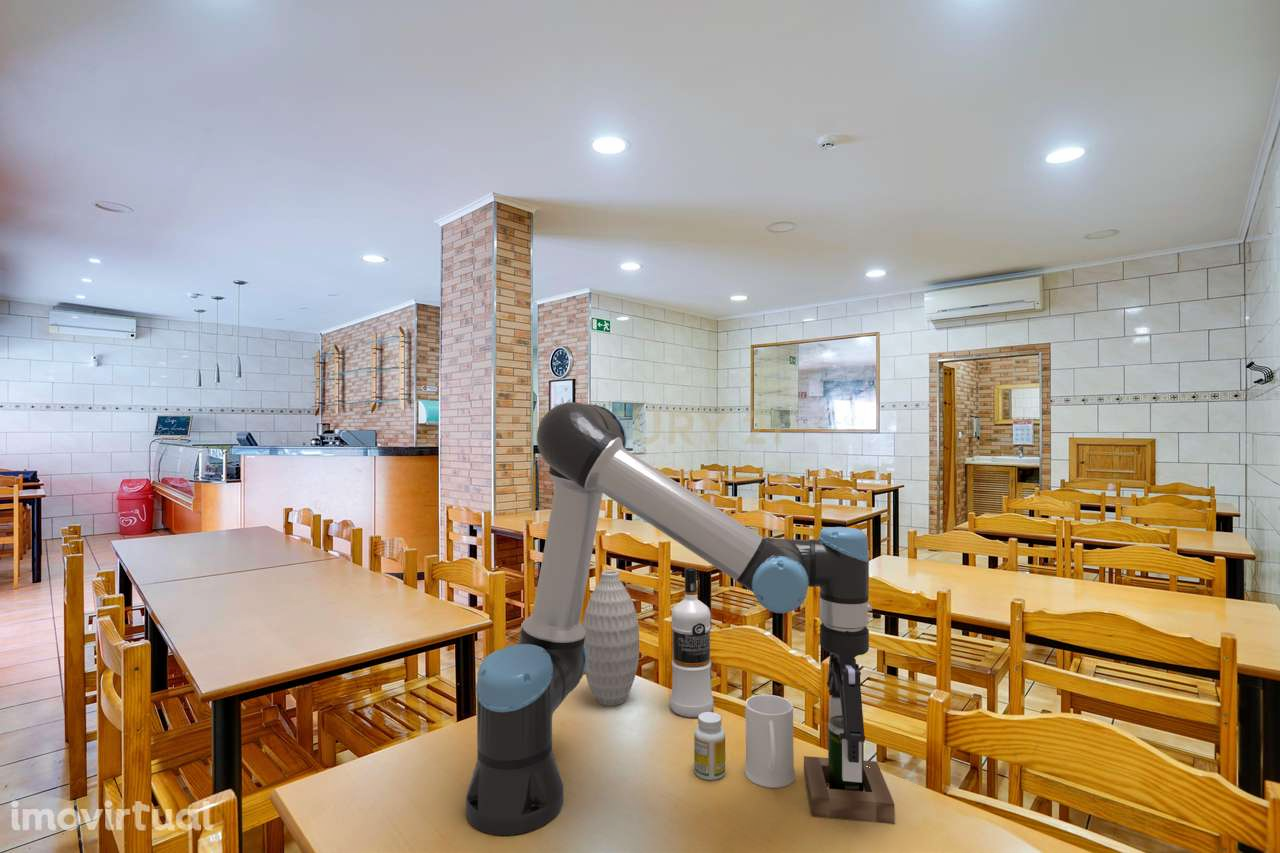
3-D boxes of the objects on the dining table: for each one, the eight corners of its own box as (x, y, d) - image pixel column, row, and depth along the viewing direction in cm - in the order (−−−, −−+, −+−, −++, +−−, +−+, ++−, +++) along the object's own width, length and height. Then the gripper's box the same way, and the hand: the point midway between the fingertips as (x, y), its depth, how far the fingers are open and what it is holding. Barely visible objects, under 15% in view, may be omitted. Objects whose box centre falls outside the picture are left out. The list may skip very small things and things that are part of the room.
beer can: (870, 804, 97) (870, 728, 97) (840, 809, 96) (839, 732, 96) (851, 785, 102) (850, 713, 102) (822, 790, 101) (821, 716, 101)
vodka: (705, 698, 136) (704, 562, 137) (719, 716, 127) (718, 571, 128) (665, 702, 134) (664, 564, 135) (676, 721, 125) (675, 573, 126)
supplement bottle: (695, 781, 104) (695, 724, 104) (693, 764, 109) (692, 709, 109) (727, 781, 104) (727, 724, 104) (723, 764, 109) (723, 709, 109)
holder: (812, 816, 94) (811, 796, 94) (803, 773, 106) (803, 756, 106) (894, 823, 92) (894, 803, 92) (877, 779, 104) (876, 761, 104)
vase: (619, 718, 127) (618, 581, 127) (570, 704, 134) (569, 574, 134) (650, 695, 138) (649, 569, 138) (603, 683, 144) (602, 563, 145)
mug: (796, 802, 98) (796, 726, 98) (742, 796, 99) (741, 721, 100) (794, 763, 109) (793, 695, 109) (745, 758, 111) (745, 691, 111)
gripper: (886, 653, 86) (887, 805, 86) (854, 604, 111) (854, 722, 111) (831, 650, 88) (831, 800, 87) (811, 602, 112) (811, 719, 112)
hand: (844, 757), depth 99 cm, fingers open, 13 cm apart
